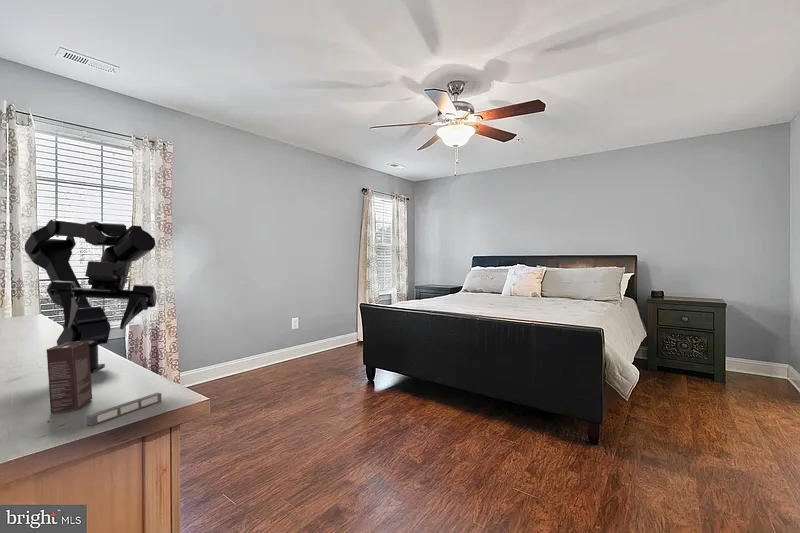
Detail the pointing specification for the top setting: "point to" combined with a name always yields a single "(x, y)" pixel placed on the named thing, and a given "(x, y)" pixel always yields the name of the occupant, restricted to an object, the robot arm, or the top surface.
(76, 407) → the box
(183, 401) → the top surface
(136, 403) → the rail
